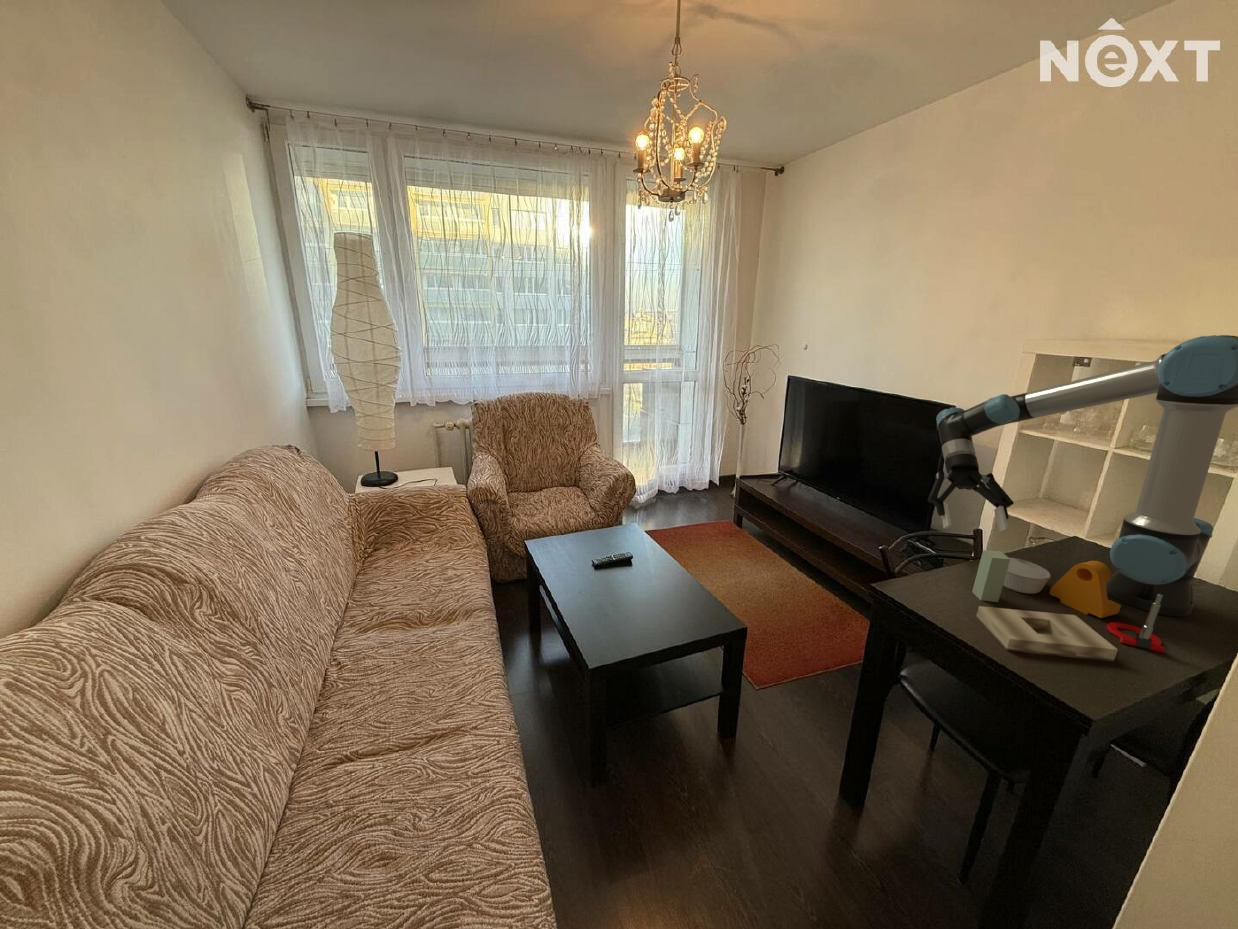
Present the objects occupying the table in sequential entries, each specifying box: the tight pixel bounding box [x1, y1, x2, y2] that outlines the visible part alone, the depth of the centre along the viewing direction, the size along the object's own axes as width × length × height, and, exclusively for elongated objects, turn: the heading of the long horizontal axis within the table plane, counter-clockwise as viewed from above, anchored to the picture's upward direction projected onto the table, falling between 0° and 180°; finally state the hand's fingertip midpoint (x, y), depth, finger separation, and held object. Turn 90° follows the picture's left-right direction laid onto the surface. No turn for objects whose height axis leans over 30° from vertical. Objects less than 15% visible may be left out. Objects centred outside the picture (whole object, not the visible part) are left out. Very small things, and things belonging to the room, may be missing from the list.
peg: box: [972, 549, 1011, 603], centre depth 120 cm, size 4×4×12 cm
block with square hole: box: [975, 605, 1119, 663], centre depth 106 cm, size 20×12×3 cm, turn 81°
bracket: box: [1049, 560, 1122, 619], centre depth 117 cm, size 11×7×12 cm, turn 18°
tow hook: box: [1106, 594, 1166, 654], centre depth 105 cm, size 8×13×9 cm
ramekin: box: [1003, 557, 1052, 595], centre depth 127 cm, size 11×11×5 cm
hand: (975, 529), depth 127 cm, fingers open, 13 cm apart
